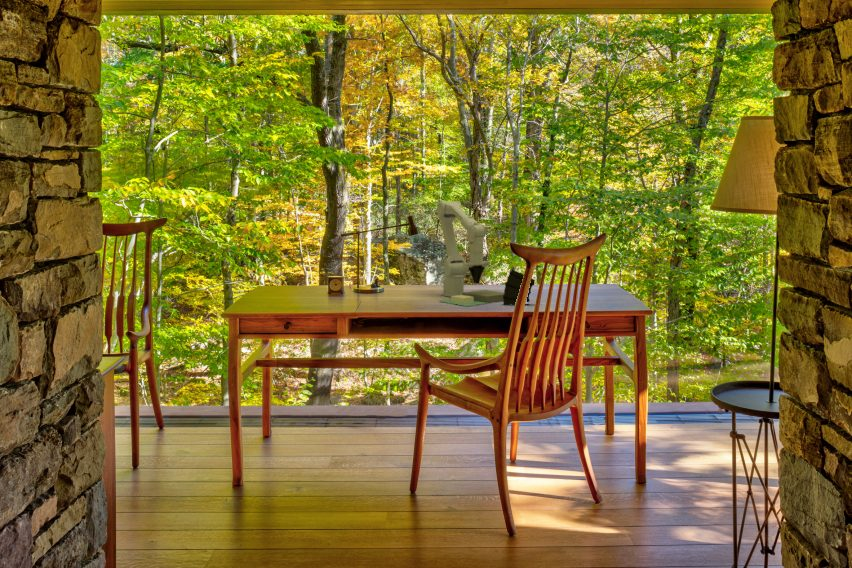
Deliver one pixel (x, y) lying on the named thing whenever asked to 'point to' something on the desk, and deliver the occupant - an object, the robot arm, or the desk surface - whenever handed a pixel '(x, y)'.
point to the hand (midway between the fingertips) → (476, 283)
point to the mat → (464, 304)
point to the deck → (486, 296)
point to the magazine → (514, 287)
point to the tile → (462, 299)
